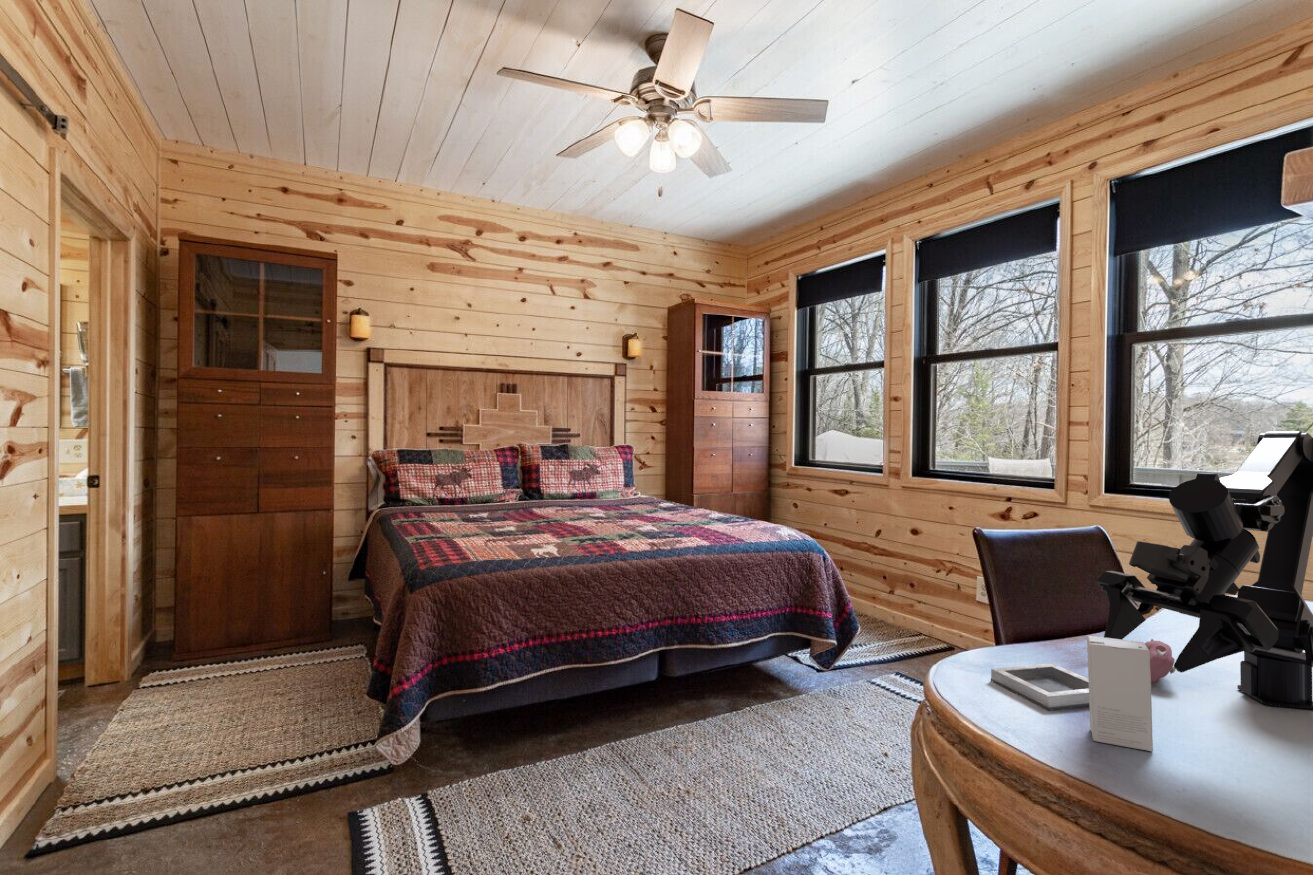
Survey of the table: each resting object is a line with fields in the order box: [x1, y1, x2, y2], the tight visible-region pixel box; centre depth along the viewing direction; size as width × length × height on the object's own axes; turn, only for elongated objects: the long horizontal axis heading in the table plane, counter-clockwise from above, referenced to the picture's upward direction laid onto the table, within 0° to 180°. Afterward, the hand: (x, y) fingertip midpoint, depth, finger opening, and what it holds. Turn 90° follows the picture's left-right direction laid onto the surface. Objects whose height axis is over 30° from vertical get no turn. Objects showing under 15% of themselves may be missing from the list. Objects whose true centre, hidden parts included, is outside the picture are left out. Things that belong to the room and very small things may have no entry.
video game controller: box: [1144, 638, 1177, 684], centre depth 98 cm, size 10×5×7 cm, turn 148°
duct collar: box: [990, 663, 1089, 712], centre depth 93 cm, size 11×11×2 cm
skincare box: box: [1086, 635, 1154, 752], centre depth 78 cm, size 6×4×12 cm
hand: (1139, 656), depth 78 cm, fingers open, 9 cm apart
